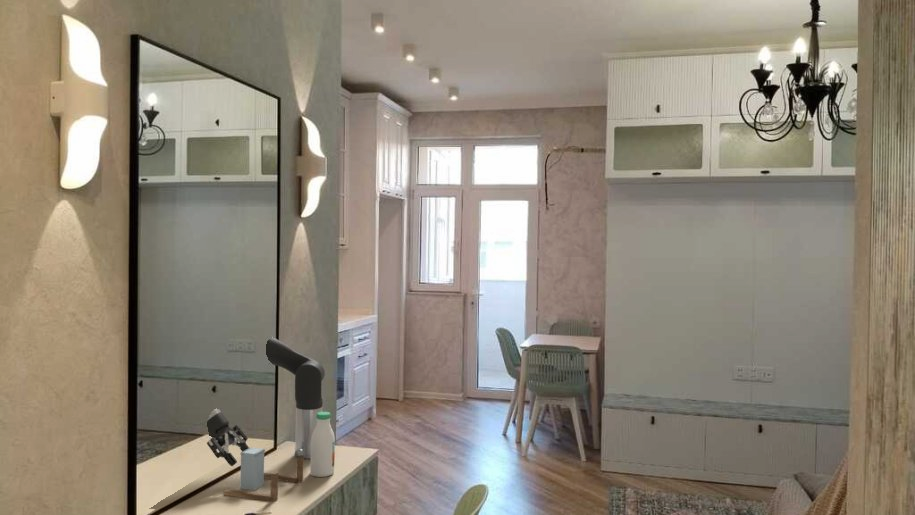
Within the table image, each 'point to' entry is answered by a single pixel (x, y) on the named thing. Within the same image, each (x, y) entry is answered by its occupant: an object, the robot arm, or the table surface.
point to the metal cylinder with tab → (300, 451)
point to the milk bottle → (322, 447)
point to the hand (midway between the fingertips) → (242, 459)
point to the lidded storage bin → (252, 468)
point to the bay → (274, 484)
